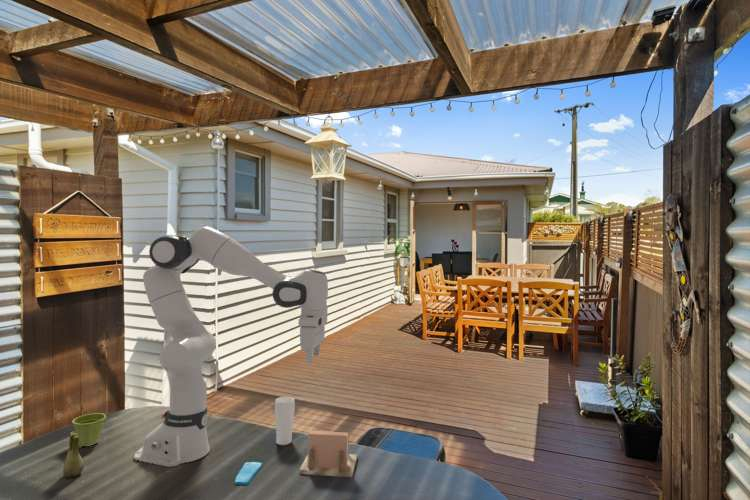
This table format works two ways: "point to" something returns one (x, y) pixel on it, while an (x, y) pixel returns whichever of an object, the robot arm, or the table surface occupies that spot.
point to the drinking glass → (284, 419)
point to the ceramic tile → (328, 448)
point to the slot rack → (329, 471)
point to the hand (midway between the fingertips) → (313, 358)
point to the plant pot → (89, 428)
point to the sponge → (247, 473)
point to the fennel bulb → (73, 458)
